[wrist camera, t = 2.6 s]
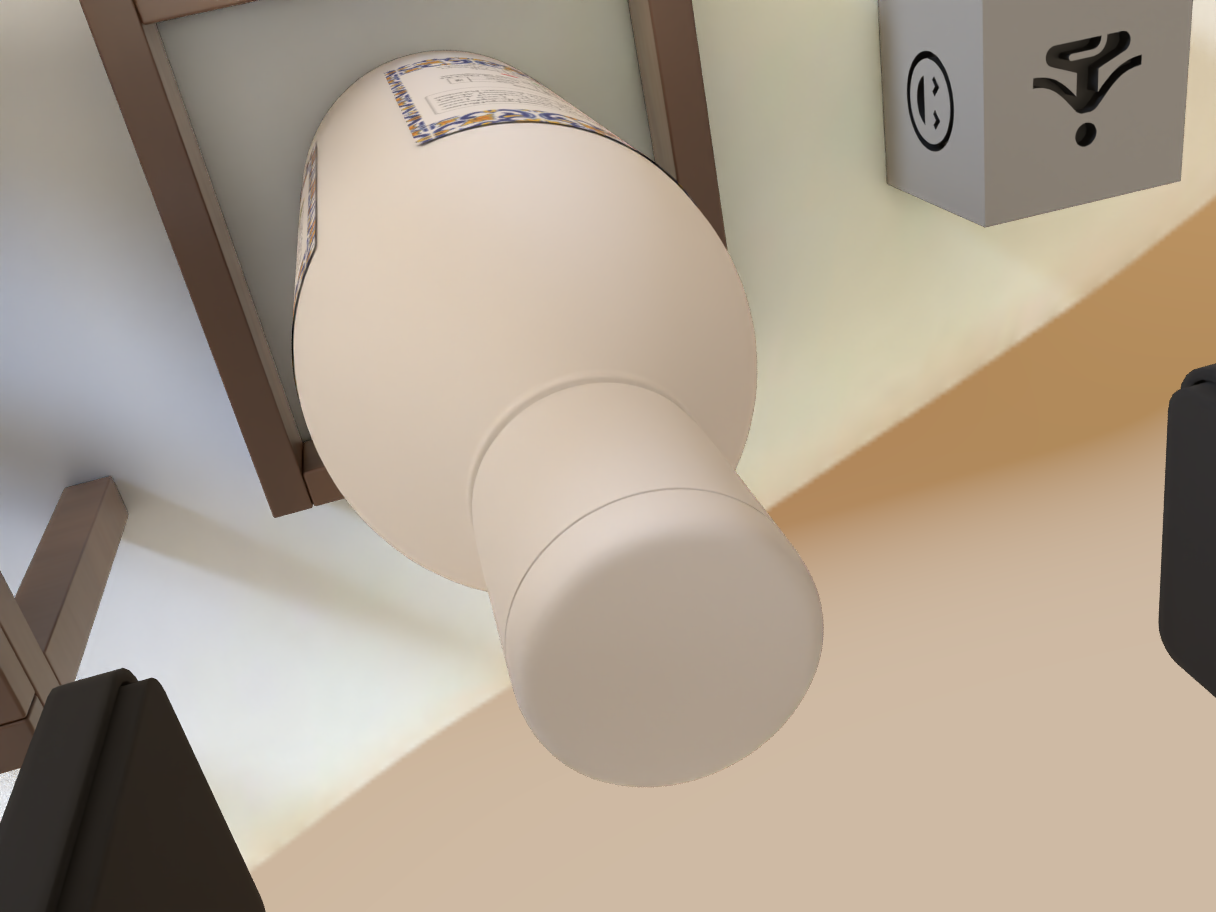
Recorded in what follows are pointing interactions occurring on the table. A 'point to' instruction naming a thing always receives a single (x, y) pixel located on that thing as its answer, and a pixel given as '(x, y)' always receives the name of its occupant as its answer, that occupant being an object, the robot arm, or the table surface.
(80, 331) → the table surface
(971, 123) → the dice cube
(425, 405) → the bath foam
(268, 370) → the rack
